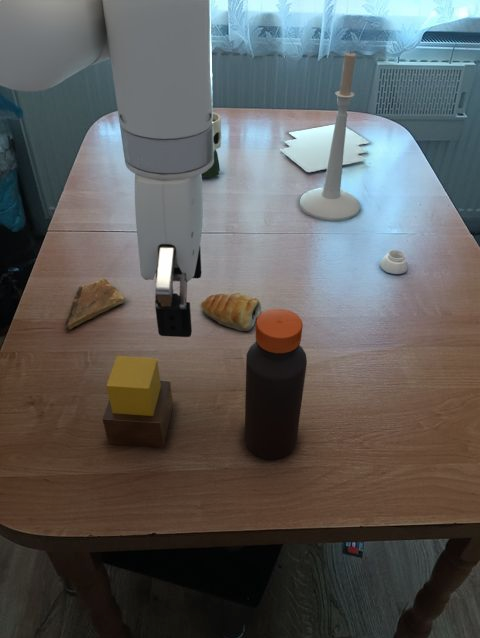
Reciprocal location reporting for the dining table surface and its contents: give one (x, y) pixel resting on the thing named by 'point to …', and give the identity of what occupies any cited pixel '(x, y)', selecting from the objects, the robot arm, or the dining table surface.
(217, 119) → the character mug
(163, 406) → the walnut block
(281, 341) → the bottle
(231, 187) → the dining table surface
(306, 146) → the paper stack
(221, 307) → the pastry
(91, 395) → the dining table surface
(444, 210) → the dining table surface
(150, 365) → the mustard block
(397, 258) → the white jar
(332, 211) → the candlestick
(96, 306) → the toasted sandwich
